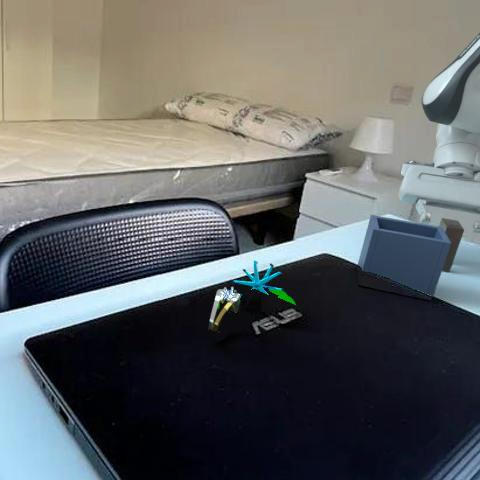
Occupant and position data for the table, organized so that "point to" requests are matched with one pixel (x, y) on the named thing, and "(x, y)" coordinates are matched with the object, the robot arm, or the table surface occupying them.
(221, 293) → the ring
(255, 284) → the blue flower
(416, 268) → the box
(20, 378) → the table surface
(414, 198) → the robot arm
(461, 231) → the brown wooden block
